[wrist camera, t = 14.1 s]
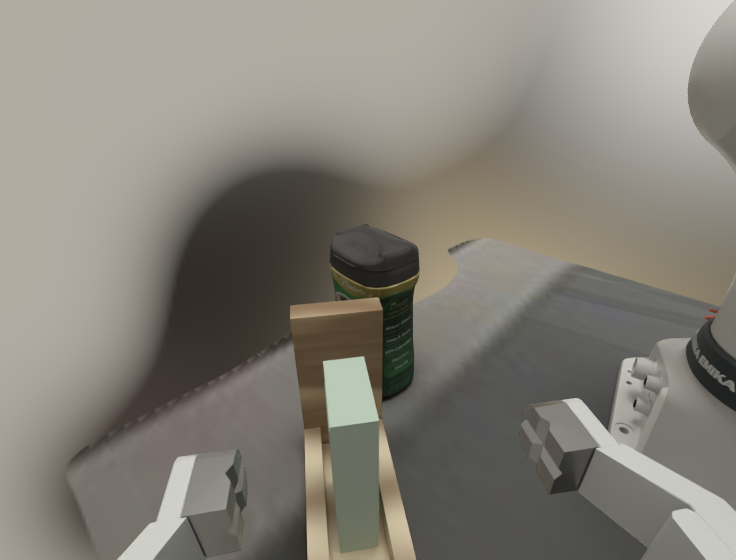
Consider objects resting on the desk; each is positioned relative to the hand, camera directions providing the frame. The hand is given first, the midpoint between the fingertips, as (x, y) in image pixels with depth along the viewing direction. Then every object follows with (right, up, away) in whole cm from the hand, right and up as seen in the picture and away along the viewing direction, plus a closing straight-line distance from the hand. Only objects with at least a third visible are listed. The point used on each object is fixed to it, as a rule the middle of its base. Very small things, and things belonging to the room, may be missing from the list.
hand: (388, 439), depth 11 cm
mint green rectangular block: (-2, -15, +22) cm, 26 cm away
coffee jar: (0, -7, +38) cm, 38 cm away
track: (-2, -15, +23) cm, 28 cm away
